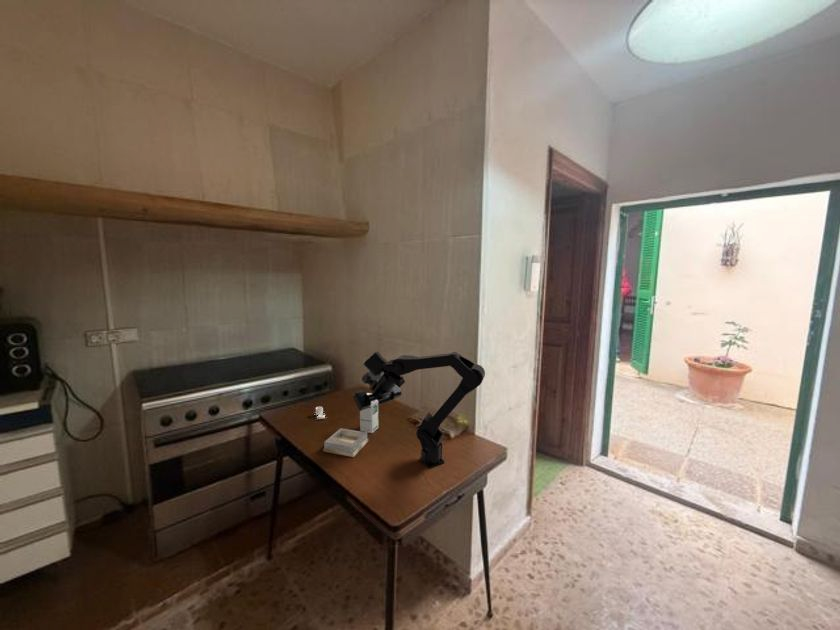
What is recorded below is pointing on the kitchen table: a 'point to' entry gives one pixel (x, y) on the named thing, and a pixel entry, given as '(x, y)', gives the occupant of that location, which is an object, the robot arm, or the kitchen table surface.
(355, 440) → the white square tray
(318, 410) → the white ring and cylinder
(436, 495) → the kitchen table surface
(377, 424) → the syrup box
